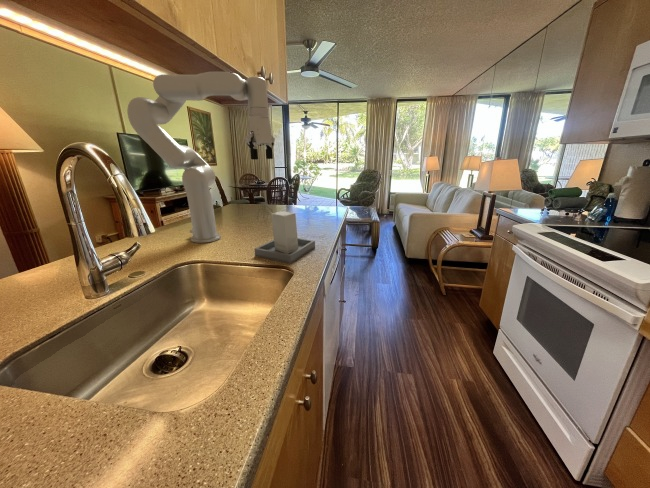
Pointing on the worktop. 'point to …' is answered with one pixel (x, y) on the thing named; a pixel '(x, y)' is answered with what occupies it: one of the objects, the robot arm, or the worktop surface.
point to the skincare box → (285, 231)
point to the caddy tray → (271, 253)
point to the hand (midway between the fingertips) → (262, 159)
